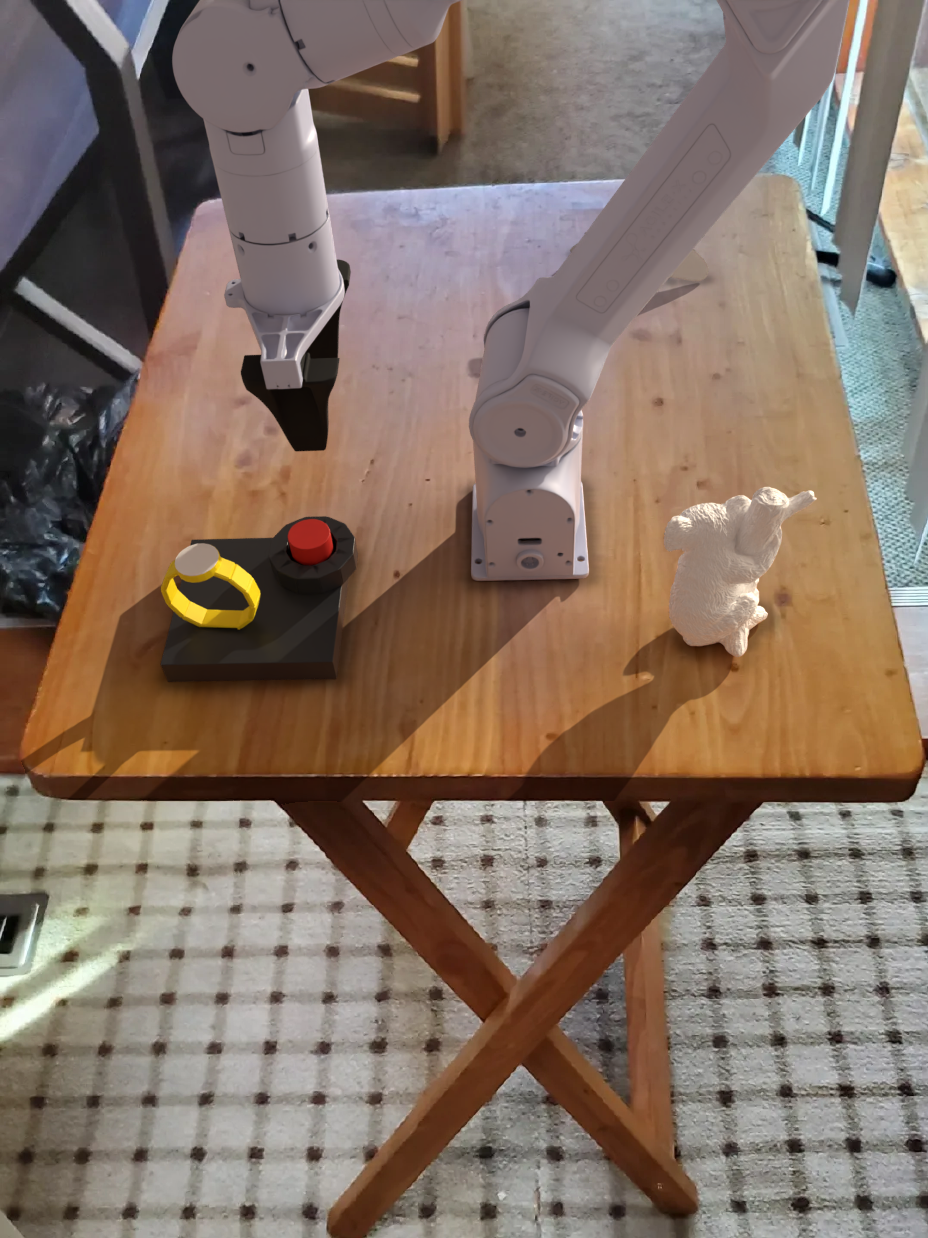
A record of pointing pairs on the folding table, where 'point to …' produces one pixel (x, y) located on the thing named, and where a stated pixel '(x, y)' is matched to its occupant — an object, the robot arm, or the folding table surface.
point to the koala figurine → (726, 564)
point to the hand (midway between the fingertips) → (315, 408)
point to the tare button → (310, 542)
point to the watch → (201, 566)
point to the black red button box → (267, 614)
